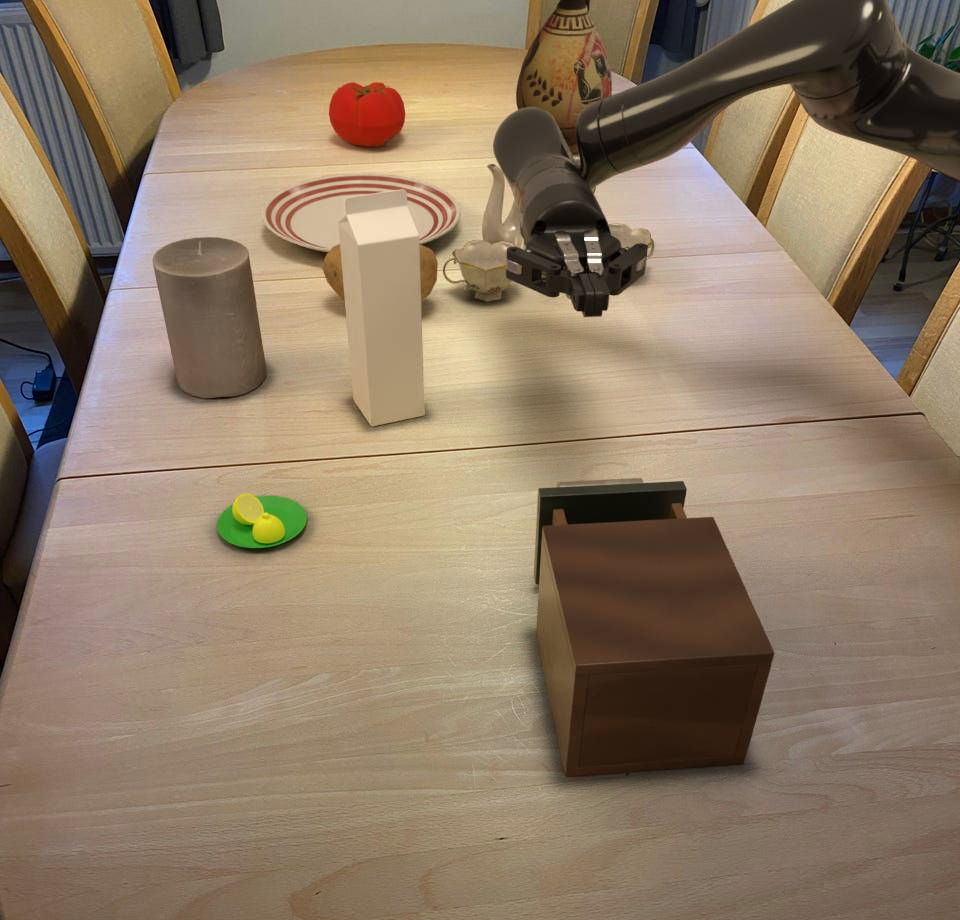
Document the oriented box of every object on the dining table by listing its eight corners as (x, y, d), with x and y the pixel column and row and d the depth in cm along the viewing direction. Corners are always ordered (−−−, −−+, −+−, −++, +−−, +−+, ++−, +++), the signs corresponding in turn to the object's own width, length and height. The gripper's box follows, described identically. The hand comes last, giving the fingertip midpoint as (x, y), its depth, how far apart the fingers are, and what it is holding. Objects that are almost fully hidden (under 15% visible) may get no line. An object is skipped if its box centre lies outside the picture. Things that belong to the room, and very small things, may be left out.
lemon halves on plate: (200, 541, 91) (194, 515, 89) (247, 493, 97) (243, 468, 95) (279, 562, 89) (275, 536, 87) (323, 512, 94) (320, 486, 92)
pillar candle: (223, 349, 118) (200, 216, 108) (285, 373, 114) (267, 238, 103) (158, 382, 112) (127, 246, 102) (221, 409, 108) (195, 270, 98)
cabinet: (535, 634, 82) (542, 525, 75) (692, 624, 83) (713, 516, 76) (565, 777, 71) (576, 665, 64) (744, 763, 72) (775, 652, 65)
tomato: (427, 142, 173) (425, 85, 167) (371, 160, 166) (367, 100, 160) (372, 124, 180) (368, 68, 174) (316, 140, 173) (310, 83, 167)
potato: (339, 286, 130) (334, 223, 125) (447, 297, 128) (446, 233, 123) (314, 319, 123) (307, 254, 118) (428, 331, 121) (426, 265, 116)
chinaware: (468, 330, 125) (474, 195, 112) (417, 265, 135) (418, 135, 122) (665, 292, 133) (691, 162, 121) (604, 233, 143) (622, 108, 131)
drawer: (526, 545, 89) (530, 458, 83) (657, 538, 90) (670, 451, 84) (558, 691, 76) (565, 600, 70) (710, 681, 77) (731, 590, 71)
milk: (425, 416, 107) (419, 200, 92) (370, 428, 105) (355, 209, 90) (404, 389, 111) (396, 178, 96) (351, 399, 109) (334, 186, 94)
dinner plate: (499, 241, 141) (499, 217, 139) (322, 288, 130) (319, 262, 128) (396, 183, 158) (395, 160, 156) (231, 220, 147) (228, 196, 144)
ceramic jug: (579, 167, 164) (594, -57, 144) (497, 150, 170) (501, -68, 150) (627, 139, 174) (648, -73, 154) (549, 123, 180) (559, -83, 160)
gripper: (491, 183, 92) (514, 262, 80) (636, 180, 93) (681, 258, 81) (490, 265, 97) (511, 352, 85) (627, 261, 98) (668, 346, 86)
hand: (594, 306), depth 83 cm, fingers closed
